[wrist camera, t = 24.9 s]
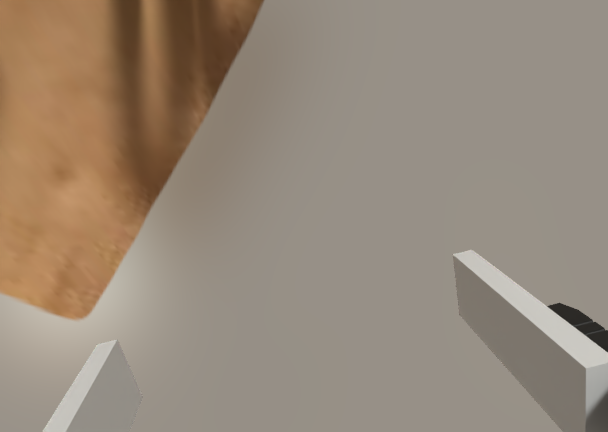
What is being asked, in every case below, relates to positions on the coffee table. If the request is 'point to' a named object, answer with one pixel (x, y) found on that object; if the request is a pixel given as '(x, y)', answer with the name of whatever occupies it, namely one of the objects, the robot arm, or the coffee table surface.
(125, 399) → the robot arm
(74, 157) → the coffee table surface
